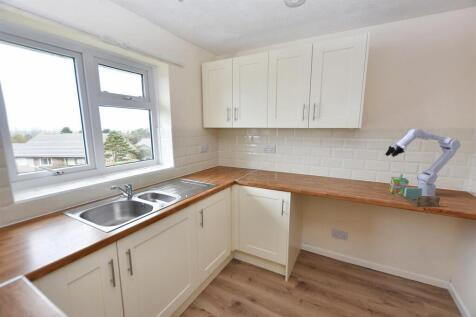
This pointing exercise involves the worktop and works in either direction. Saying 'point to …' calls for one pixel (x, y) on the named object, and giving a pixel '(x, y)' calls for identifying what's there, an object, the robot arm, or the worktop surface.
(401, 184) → the chalk box
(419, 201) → the lane
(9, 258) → the worktop surface
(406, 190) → the follower
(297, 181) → the worktop surface
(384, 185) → the worktop surface
